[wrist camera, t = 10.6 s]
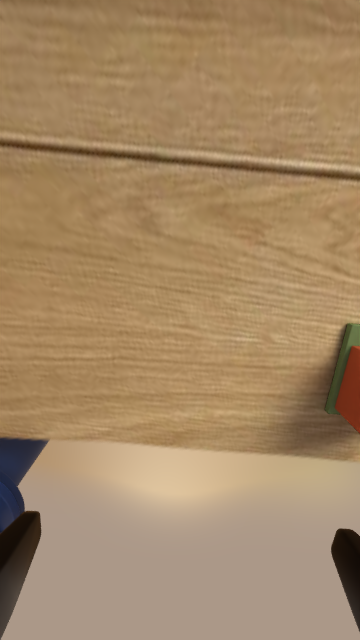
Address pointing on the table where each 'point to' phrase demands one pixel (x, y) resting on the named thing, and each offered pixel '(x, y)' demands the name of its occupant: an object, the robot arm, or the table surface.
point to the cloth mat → (342, 365)
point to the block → (351, 390)
